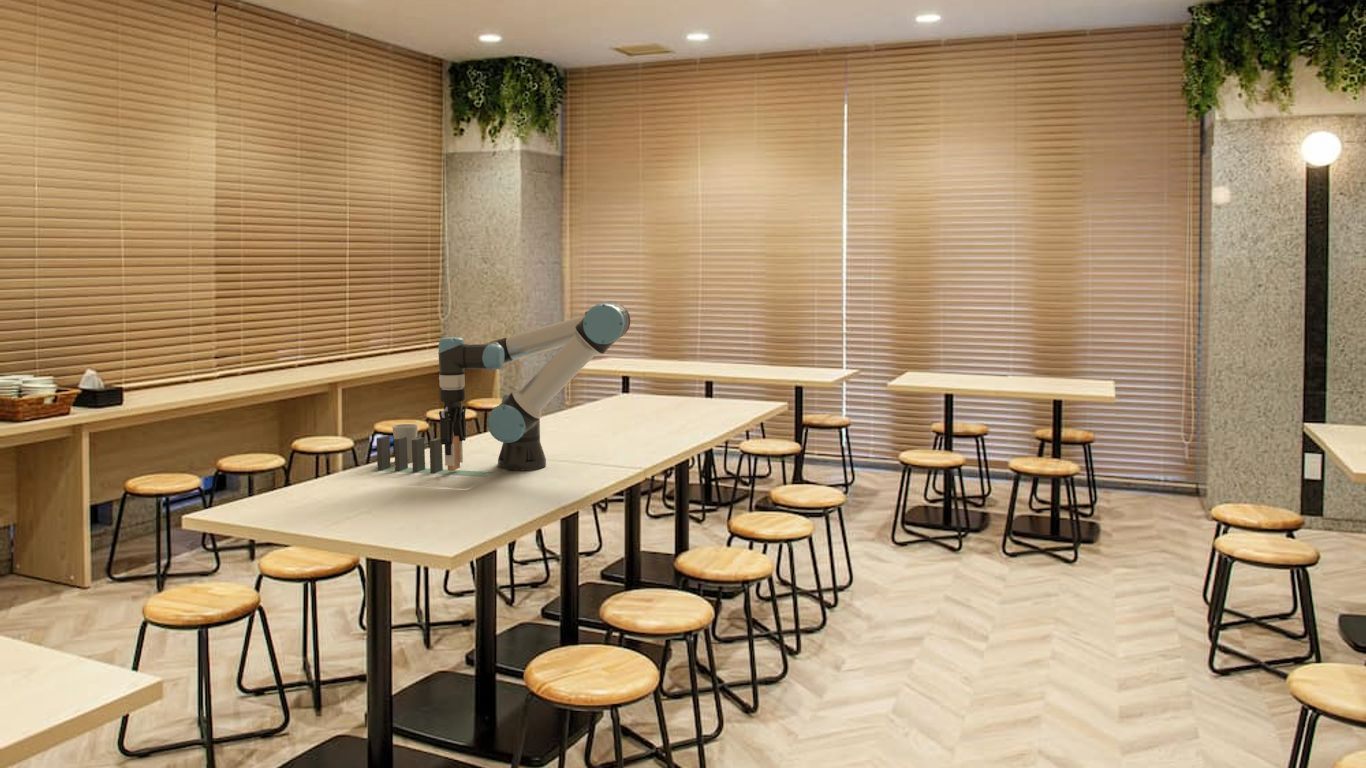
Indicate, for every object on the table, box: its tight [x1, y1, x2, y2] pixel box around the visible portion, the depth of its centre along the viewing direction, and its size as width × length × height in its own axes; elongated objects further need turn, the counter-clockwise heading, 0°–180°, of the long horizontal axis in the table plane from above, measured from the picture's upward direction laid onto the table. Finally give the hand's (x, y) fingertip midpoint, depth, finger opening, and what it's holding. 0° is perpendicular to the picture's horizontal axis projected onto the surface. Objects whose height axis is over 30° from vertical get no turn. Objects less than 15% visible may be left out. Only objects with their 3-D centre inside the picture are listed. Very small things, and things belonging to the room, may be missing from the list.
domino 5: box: [447, 435, 461, 471], centre depth 330 cm, size 2×5×10 cm, turn 165°
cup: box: [392, 423, 419, 464], centre depth 348 cm, size 8×8×12 cm
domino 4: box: [429, 437, 444, 473], centre depth 332 cm, size 2×5×10 cm, turn 165°
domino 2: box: [393, 437, 409, 471], centre depth 334 cm, size 2×5×10 cm, turn 165°
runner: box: [370, 466, 494, 478], centre depth 332 cm, size 38×7×1 cm, turn 76°
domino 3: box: [411, 436, 426, 472], centre depth 333 cm, size 2×5×10 cm, turn 166°
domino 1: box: [376, 435, 392, 470], centre depth 336 cm, size 2×5×10 cm, turn 165°
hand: (454, 463), depth 330 cm, fingers closed on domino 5, 5 cm apart
